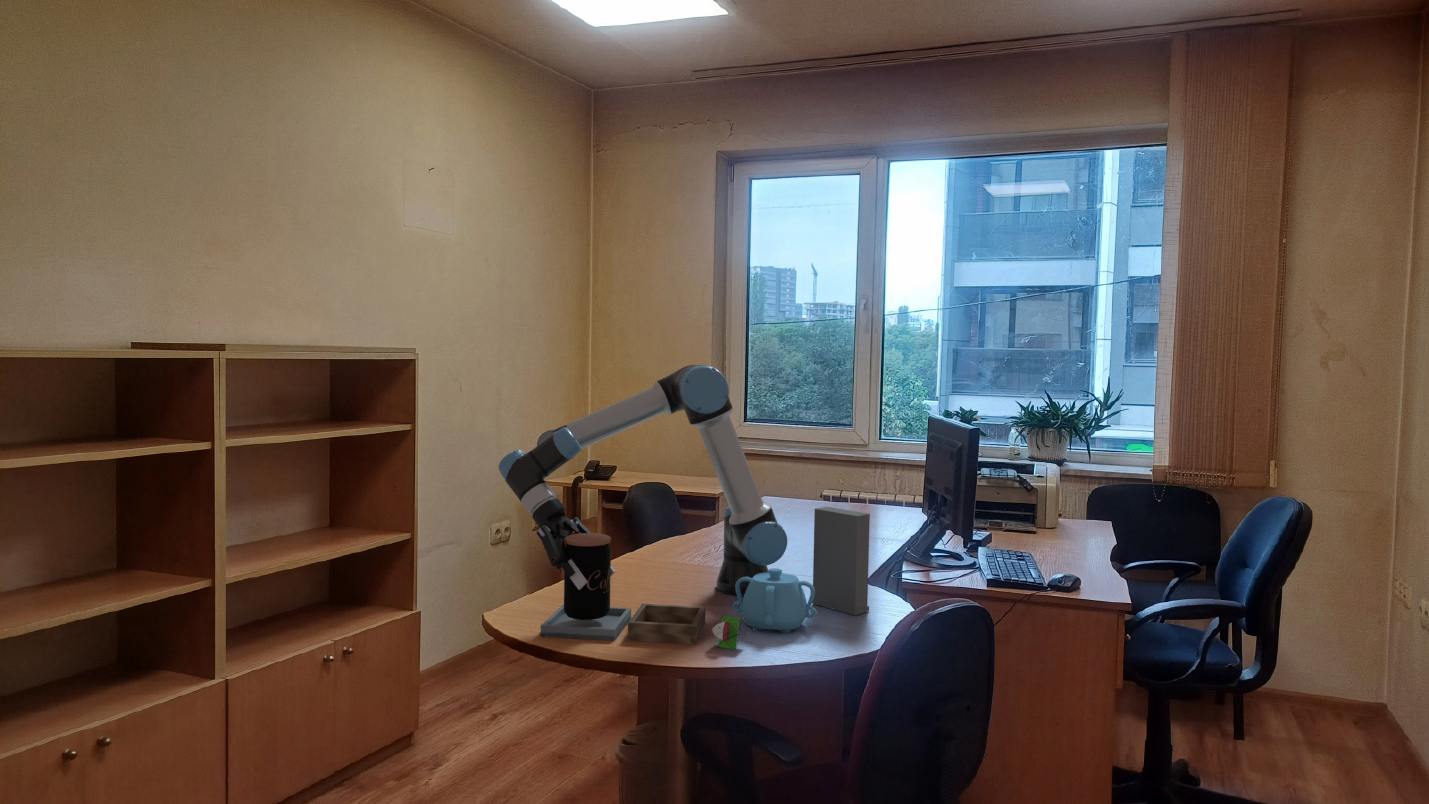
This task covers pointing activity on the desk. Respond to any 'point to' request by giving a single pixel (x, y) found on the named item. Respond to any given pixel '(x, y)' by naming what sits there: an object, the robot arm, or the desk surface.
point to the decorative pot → (774, 601)
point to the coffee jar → (588, 576)
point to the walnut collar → (667, 623)
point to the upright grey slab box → (841, 559)
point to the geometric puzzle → (727, 632)
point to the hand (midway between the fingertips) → (597, 580)
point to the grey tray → (587, 625)
